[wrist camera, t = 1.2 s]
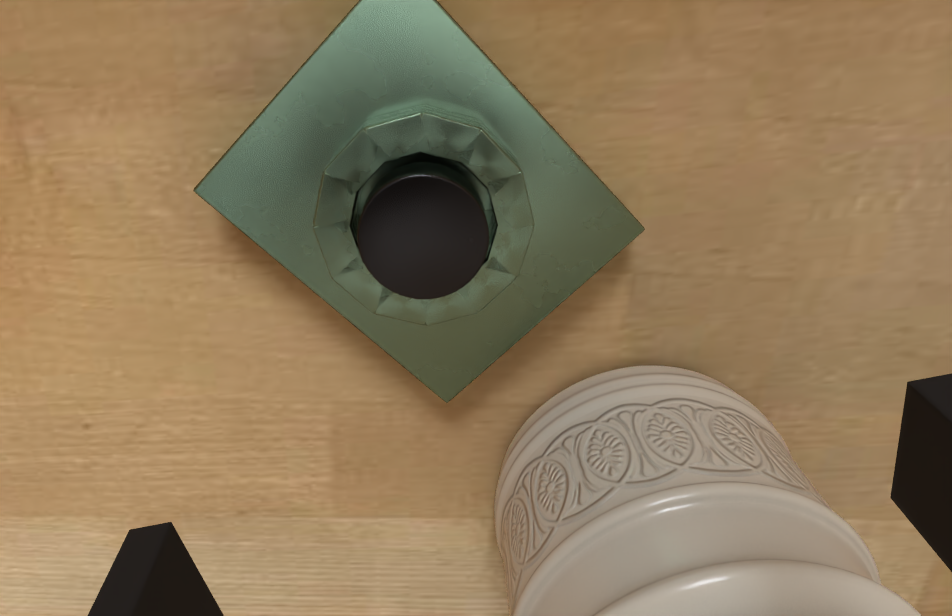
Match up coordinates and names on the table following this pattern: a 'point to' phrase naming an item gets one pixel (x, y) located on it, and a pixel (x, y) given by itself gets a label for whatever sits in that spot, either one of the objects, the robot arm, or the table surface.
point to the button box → (408, 141)
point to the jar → (671, 510)
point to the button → (423, 231)
